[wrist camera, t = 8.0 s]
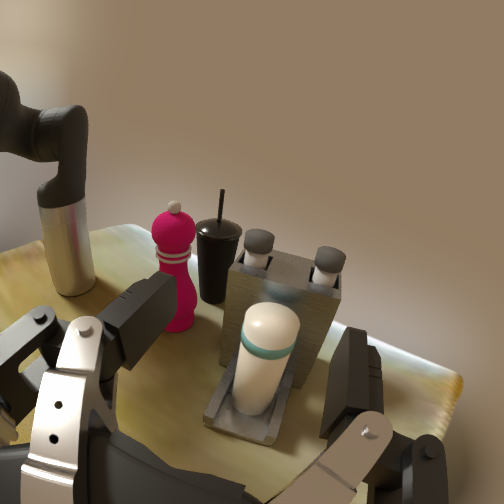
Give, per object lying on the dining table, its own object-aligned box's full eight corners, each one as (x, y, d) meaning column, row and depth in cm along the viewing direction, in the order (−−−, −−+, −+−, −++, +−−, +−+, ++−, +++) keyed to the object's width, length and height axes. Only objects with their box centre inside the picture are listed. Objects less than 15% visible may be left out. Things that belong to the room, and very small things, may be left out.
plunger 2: (301, 306, 30) (316, 255, 27) (305, 291, 33) (318, 243, 30) (328, 313, 29) (346, 263, 26) (329, 297, 32) (345, 251, 29)
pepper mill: (163, 301, 46) (161, 190, 37) (201, 311, 45) (209, 197, 36) (146, 328, 39) (136, 205, 30) (188, 340, 39) (191, 214, 30)
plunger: (234, 287, 31) (241, 236, 28) (243, 274, 34) (250, 226, 31) (261, 295, 31) (270, 244, 28) (267, 281, 34) (277, 233, 31)
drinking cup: (189, 306, 46) (193, 194, 37) (195, 282, 53) (201, 181, 43) (233, 311, 47) (248, 199, 37) (233, 286, 53) (246, 186, 44)
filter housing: (189, 419, 27) (182, 329, 20) (235, 333, 42) (248, 243, 34) (286, 450, 25) (337, 375, 17) (308, 354, 39) (341, 267, 32)
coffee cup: (224, 408, 28) (235, 329, 22) (238, 378, 33) (253, 295, 26) (266, 421, 27) (296, 347, 21) (276, 389, 32) (304, 310, 25)
